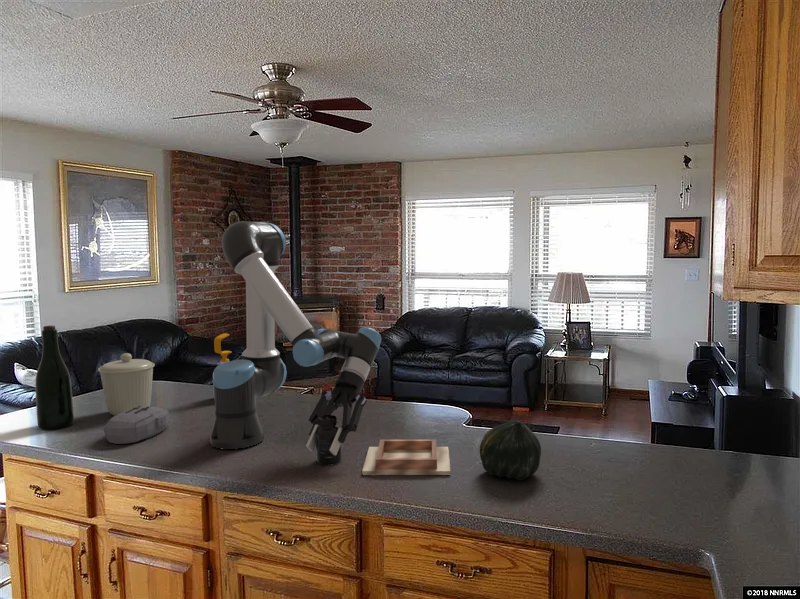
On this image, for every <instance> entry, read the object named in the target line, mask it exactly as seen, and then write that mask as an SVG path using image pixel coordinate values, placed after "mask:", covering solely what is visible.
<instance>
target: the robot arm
mask: <svg viewBox="0 0 800 599" xmlns="http://www.w3.org/2000/svg"><path fill="white" fill-rule="evenodd" d="M286 246H287V241H286V237H285V234H284V232H283V231H282V229H280V228H279V227H278V226H277V225H276V224H274V223H270V222H267V221H245V220H241V221H240V220H239V221H235V222H234V223H232V224H230V225H229V226H228V227H226V229H225V230H224V232H223V234H222V238H221V248H222V252H223V255H224V257H225V259H226V261H227V262H228V264H229V266H230V267H231V269H232V270H233V271H234V273H236V274H239V275H241V276H242V277H243V279H244V280H245V305H246V306H245V307H246V309H245V312H246V313H245V314H246V317H245V320H246V322H245V323H246V325H245V326H246V327H245V328H246V348H245V349H244V350H243V352H241V359H233V360H229V361H228V362H225V363H222V364H220V363H219V364H218V365H217V366H216V367H215V368H214V370H213V372H214V379H213V378H212V385H213V384H214V390H213V399H214V413H215V414H214V415H215V416H214V422H213V426H212V428H211V431H210V432H211V433H210V437H209V439H210V440H209V442H210V444H211V445H210V446H211V447H212V446H213V447H212V448H214V447H216V448H215V449H217V448H223V449H235V450H237V449H236V448H243V449H246V448H245V447H248V448H250V447H249V446H252V447H254V446H253V445H255V446H257V445H259V444H261V443H262V442H263V441H264V431H263V428H262V426H261V424H260V420H259V418H258V415H257V402H256V400H259V399H261V398H262V397H265V396H268V395H271V394H273V393H275V392H276V391H278V390H279V389H280V388H282V386H283V385H284V384H285V381H286V380H287V379H286V378H287V375H288V374H287V373H288V372H287V366H286V364H285V363H284V362H283V360H282V358H281V357H280V356H281V352H280V351H279V350H278V349H277V348H276V343H275V342H276V335H275V334H276V333H275V331H276V328H275V327H276V324H277V326H278V327H279V328H280V330H281V331H282V333H283V334H284V335H285V337H286V338H287V339H288V340H289V342H290V344H291V345H292V346H293V348H292V356H293V360H294V361H295V363H297V365H299V366H301V367H305V368H306V367H307V368H308V367H311V366H316V365H319V364H320V363H322V362H325V361H327V360H330V359H332V358H335V357H336V358H341V359H345V360H344V363H343V365H342V367H341V369H340V372H339V374H338V375H337V378H336V380H335V384H334V385H335V386H334V388H333V389H332V390H331V391H326V390H325V389H324V390H322V391H321V395H320V398H319V401H318V402H317V404H316V405H315V407H314V409H313V411H312V412H311V414H310V416H309V417H308V422H309V423H311V425H312V426H311V429H310V430H309V434H308V435H309V438H308V440H307V442H306V444H305V447H306V448H307V449H308V450H309V451H310V452H313V451H314V450H315V448H316V439H315V431H316V429H317V428H318V427H319V424H318V423H319V417H321V416H324V415H332V414H333V413H334V412H335V411H336V410H338V409H339V408H342V423H341V425H340V427H339V429H338V431H337V433H336V436H335V438H334V440H333V443H332V445H331V448H330V452H331V453H332V454H333V455H337V452H338V450H339V447H340V445H341V446H342V444H344V443H345V441H346V439H347V436H348V433H351V432H353V433H355V432H356V431H357V430H358V425H359V422H360V419H361V416H362V413H363V409H364V407H365V405H366V404H367V402H368V400H367V399H366V397H365V396H364V395H363V394H361V392H362V390H363V388H364V385H365V382H366V380H367V379H368V378H367V377H368V375H369V373H370V371H371V368H372V366H373V363H374V361H375V359H376V356H377V354H378V353H379V350H380V347H381V346H380V345H381V344H382V343H381V342H382V336H381V334H380V333H379V332H378V331H377V330H375V329H374V328H372V327H368V326H365V327H361V328H359V330H358V331H357V332H356V333H349V332H343V331H339V330H333V329H331V328H319V329H317V330H315V328H314V327H313V325H312V324H311V323H310V322H309V320H308V319H307V317H306V316H305V314H304V313H303V311H301V309H300V308H299V306H298V305H297V303H296V302H295V301H294V300H293V298H292V296H291V295H290V294H289V293H288V291H287V290H286V288H285V287H284V285H283V284H282V283H281V281H280V280H279V279H278V277H277V276H276V274H275V272H276V270H277V269H278V268H279V267H280V257H282V255H283V254H284V253H285V251H286V248H287V247H286ZM360 394H361V395H360ZM353 404H354V407H353ZM352 410H353V411H352ZM262 440H263V441H262ZM261 441H262V442H261ZM260 442H261V443H260ZM258 443H259V444H258ZM256 444H257V445H256ZM223 449H222V450H223Z"/></svg>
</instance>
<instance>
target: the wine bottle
mask: <svg viewBox="0 0 800 599" xmlns="http://www.w3.org/2000/svg"><path fill="white" fill-rule="evenodd" d="M41 336H42V353H41V360H40V362H39V364H38V367H37V371H36V374H35V404H36V418H37V419H36V421H37V427H38V429H40V430H43V431H44V430H45V431H46V430H47V431H49V430H52V431H53V430H59V429H64V428H67V427H70V426H71V425H73V424H74V423H75V411H74V399H73V390H72V381H71V375H70V372H69V369H68V367H67V365H66V363H65V361H64V359H63V358H62V355H61V353H60V346H59V341H58V330H57V328H56V326H55V325H44V326H43V329H42V330H41Z"/></svg>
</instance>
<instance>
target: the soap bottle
mask: <svg viewBox="0 0 800 599" xmlns="http://www.w3.org/2000/svg"><path fill="white" fill-rule="evenodd" d="M229 336H230V334H229V333H224V332H223V333H222V334H219V335H217V336H216V337H215V338H214V339H213V346H214V348H213V349H214V352H215V353H216V354H220V356H221V359H219V360H220V361H219V365H220V364H222V363H225V362H228V361H230V359H229V358H228V357H227V356H229V354H231V353H232V352H233V351H231V350H222V346H221V344H222V343H221V342H222V340H224V339H225V338H227V337H229ZM213 379H214V371H213V373H212V380H213ZM212 385H213V386H212V387H213V391H214V384H213V383H212Z"/></svg>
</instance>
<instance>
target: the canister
mask: <svg viewBox="0 0 800 599" xmlns="http://www.w3.org/2000/svg"><path fill="white" fill-rule="evenodd" d="M155 366H156V365H155V363H154V362H152V361H150V360H149V359H148V360H147V359H144V358H143V359H142V358H133V356H132V354H131V353H130V352H129V353H128V352H126V353H125V352H124V353H123V354H121V355H120V360H115V361H109V362H106V363H105V364H102V366H100V367H98V369H97V371H98V372H99V373H100V378H101V384H102V391H103V395H104V399H105V403H106V409H107V411H108V412H109V414H110V415H112V416H113V417H114V416H116V415H118V414H120V413H122V412H124V411H127V410H132V409H133V408H137V407H138V406H141V407H147V406H148V407H151V402H152V391H153V389H152V388H153V374H154V372H153V371H154V367H155Z"/></svg>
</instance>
